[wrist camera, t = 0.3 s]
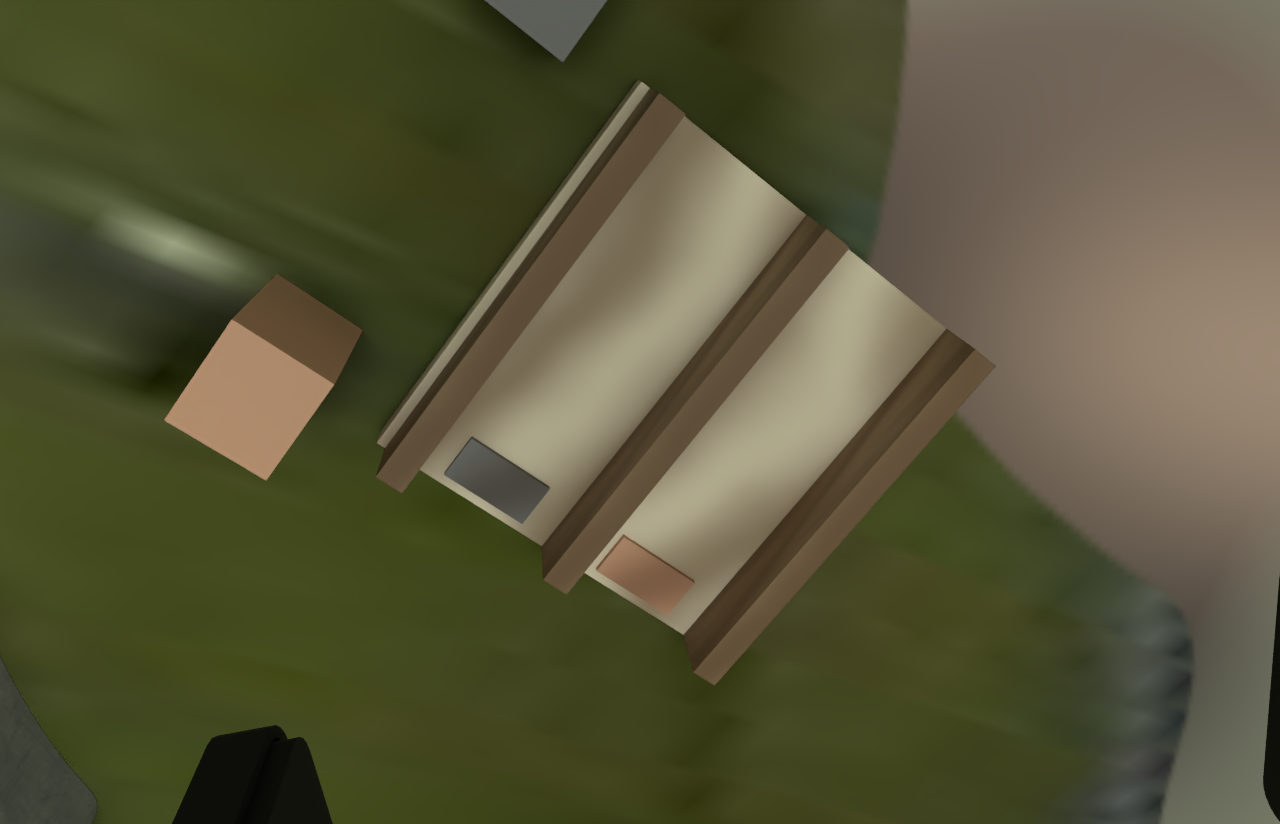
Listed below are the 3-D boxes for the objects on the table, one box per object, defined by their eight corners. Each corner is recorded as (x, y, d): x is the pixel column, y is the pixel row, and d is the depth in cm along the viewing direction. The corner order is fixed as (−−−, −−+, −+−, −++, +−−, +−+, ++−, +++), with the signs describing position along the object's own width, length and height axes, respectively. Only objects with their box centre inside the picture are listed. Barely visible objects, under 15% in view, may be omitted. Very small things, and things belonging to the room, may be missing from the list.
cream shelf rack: (381, 429, 45) (366, 471, 41) (637, 79, 41) (650, 85, 37) (704, 633, 50) (721, 689, 46) (959, 340, 46) (1002, 371, 42)
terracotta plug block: (218, 360, 43) (164, 420, 37) (277, 273, 42) (231, 319, 36) (304, 413, 44) (266, 480, 38) (363, 330, 43) (334, 384, 37)
